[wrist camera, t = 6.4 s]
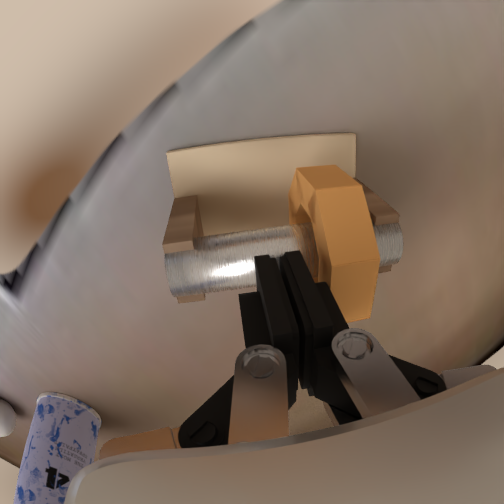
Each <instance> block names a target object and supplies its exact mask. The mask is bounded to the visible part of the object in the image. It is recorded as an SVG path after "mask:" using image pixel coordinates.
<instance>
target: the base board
mask: <svg viewBox="0 0 504 504" xmlns="http://www.w3.org/2000/svg"><path fill="white" fill-rule="evenodd" d="M166 154H167V160H168V165H169V171H170V176H171V182H172V187H173V192H174V197H175V199H174V203H173V206H172V210H171V214H170V217H169V221H168V225H167V228H166V232H165V236H164V240H163V244H162V245H163V249H164V253H165V254H166V253H173V252H180V251H187V250H194V238H195V237H202V236H209V235H216V234H223V233H231V232H238V231H245V230H253V229H261V228H268V227H276V226H284V225H289V202H288V193H289V190H290V187H291V183H292V180H293V177H294V174H295V170H296V168H299V167H310V166H323V165H337V166H338V167H339V168H340V169H342V170H343V171H344V172H345V173H347V174H348V175H349V176H351V177H352V178H353V179H354V180H356V181H357V182H358V183H359V184H360V185H362V188H363V191H364V195H365V199H366V202H367V206H368V210H369V213H370V217H371V219H372V221H373V222H374V224H375V226H376V225H384V224H392V223H398V222H399V213H397V212H396V211H395V210H394V209H393V208H392V207H390V206H389V205H388V204H387V203H386V202H385V201H383V200H382V199H381V198H380V197H379V196H377V195H376V194H375V193H374V192H373V191H371V190H370V189H369V188H368V187H366V186H365V185H364V184H363V183H361V182H360V181H359V180H358V179H356V178H355V165H356V134H353V133H334V134H313V135H297V136H283V137H271V138H261V139H251V140H242V141H233V142H225V143H218V144H210V145H203V146H197V147H190V148H184V149H178V150H172V151H168V152H167V153H166ZM391 266H392V265H387V266H381V267H379V271H378V273H382V272H388V271H391ZM177 300H178V303H186V302H194V301H202V300H205V293H204V294H196V295H188V296H180V297H177Z"/></svg>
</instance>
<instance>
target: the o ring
mask: <svg viewBox="0 0 504 504" xmlns="http://www.w3.org/2000/svg"><path fill="white" fill-rule="evenodd" d="M288 202H289V225H292V224H300V223H308V222H312V226H313V231H314V236H315V241H316V246H317V251H318V256H319V273H318V277H315V278H313V280H314V282H315V283H318V282H324V281H325V282H326V283H327V284H328V286H329V288H330V290H331V292H332V294H333V296H334V298H335V300H336V302H337V304H338V306H339V308H340V310H341V312H342V314H343V316H344V318H345V320H346V322H347V323H349V322H354V321H358V320H363V319H367V318H370V315H371V310H372V305H373V299H374V294H375V288H376V283H377V277H378V271H379V264H380V255H379V250H378V246H377V242H376V238H375V233H374V229H373V225H372V221H371V217H370V213H369V210H368V206H367V202H366V199H365V195H364V191H363V188H362V185H360V184H359V183H358V182H357V181H356V180H354V179H353V178H352V177H351V176H349V175H348V174H347V173H345V172H344V171H343V170H342V169H340V168H339V167H338V166H337V165H323V166H310V167H299V168H296V170H295V174H294V177H293V180H292V183H291V187H290V190H289V193H288Z"/></svg>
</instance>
